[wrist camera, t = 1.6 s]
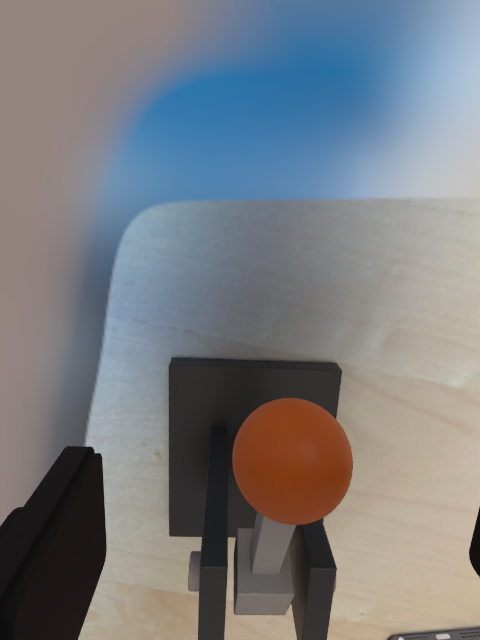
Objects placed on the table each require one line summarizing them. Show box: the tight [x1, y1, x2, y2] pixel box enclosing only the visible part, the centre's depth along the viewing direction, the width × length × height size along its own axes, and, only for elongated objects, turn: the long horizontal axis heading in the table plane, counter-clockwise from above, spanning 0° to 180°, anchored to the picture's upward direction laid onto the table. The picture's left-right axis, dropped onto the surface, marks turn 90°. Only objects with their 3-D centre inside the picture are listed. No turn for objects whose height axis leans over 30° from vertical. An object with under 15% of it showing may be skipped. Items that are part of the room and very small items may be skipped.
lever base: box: [169, 358, 342, 640], centre depth 20 cm, size 12×10×11 cm
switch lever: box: [232, 398, 353, 615], centre depth 13 cm, size 12×3×3 cm, turn 177°
